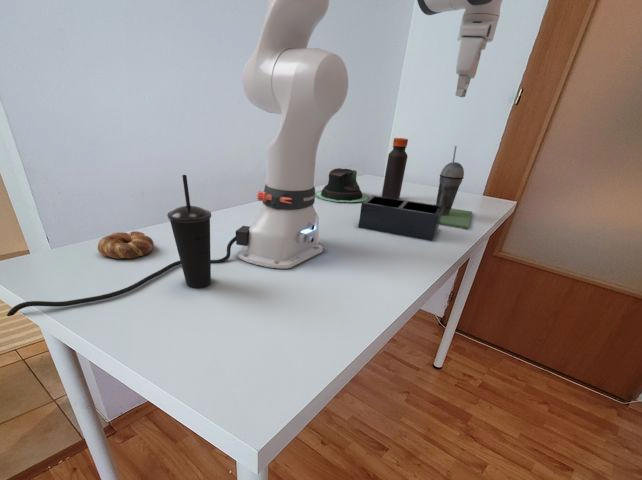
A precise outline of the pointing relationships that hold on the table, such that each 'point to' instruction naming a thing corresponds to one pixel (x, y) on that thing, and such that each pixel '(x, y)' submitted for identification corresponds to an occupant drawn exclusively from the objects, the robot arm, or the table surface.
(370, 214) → the black divided storage box
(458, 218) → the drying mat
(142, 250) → the braided bread ring
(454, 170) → the beverage cup
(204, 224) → the drinking cup
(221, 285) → the table surface
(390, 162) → the bottle
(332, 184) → the black fabric hat shape
